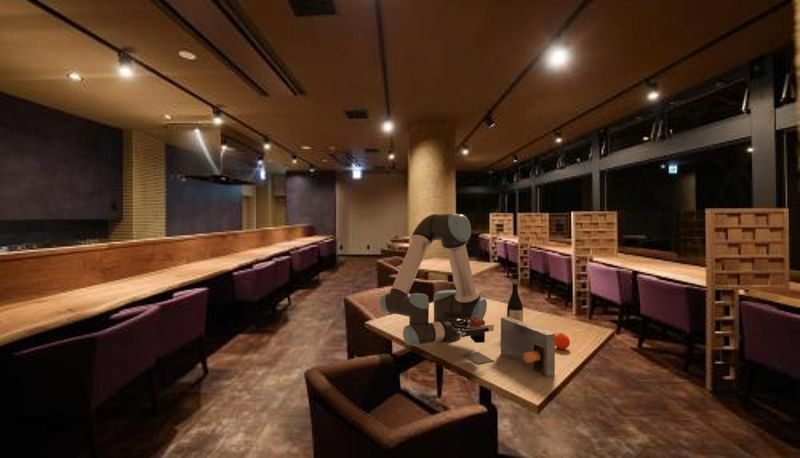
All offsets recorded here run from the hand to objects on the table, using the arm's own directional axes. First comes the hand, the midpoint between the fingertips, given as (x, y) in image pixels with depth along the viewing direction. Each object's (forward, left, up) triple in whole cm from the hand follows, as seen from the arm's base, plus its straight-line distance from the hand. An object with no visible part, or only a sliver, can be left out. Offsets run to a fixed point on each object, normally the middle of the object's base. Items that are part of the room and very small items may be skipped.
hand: (487, 324), depth 155 cm
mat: (0, -5, -14) cm, 14 cm away
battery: (0, -5, -6) cm, 8 cm away
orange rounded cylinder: (+22, +4, -9) cm, 24 cm away
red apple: (+6, +36, -14) cm, 40 cm away
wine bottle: (-24, +36, -14) cm, 46 cm away
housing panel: (+13, +9, -14) cm, 21 cm away
